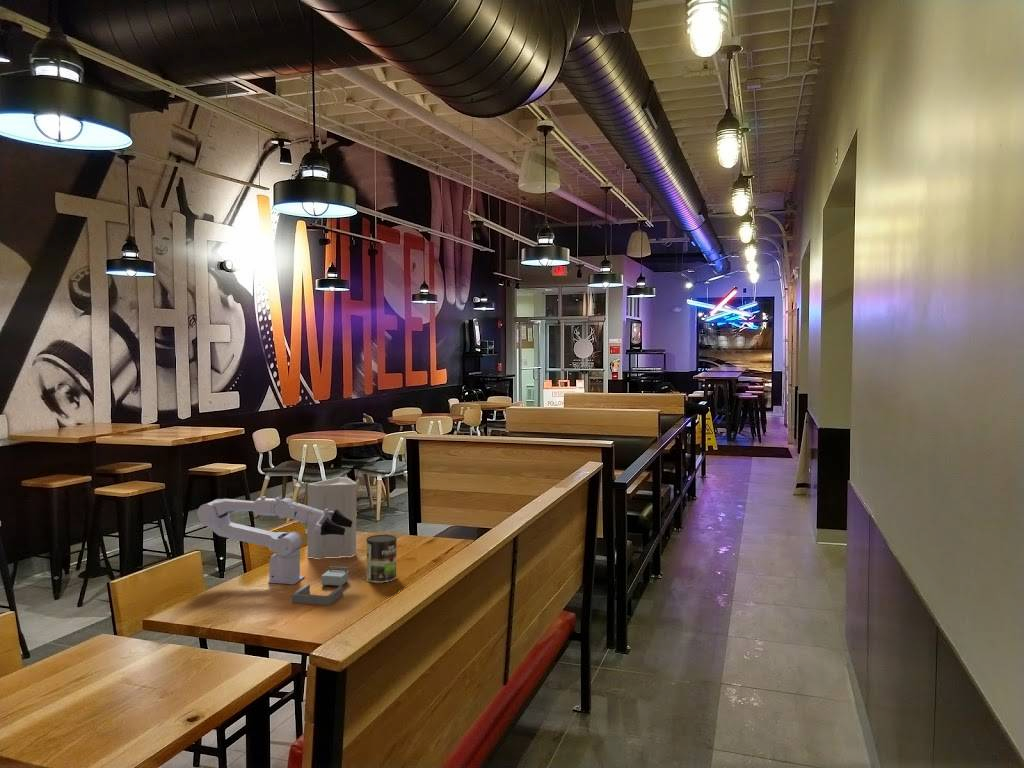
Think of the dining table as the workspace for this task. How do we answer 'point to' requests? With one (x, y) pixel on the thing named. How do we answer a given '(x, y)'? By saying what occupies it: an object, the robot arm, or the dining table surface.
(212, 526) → the robot arm
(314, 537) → the tall upright grey box
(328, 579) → the box with handle
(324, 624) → the dining table surface
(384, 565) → the coffee can
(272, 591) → the dining table surface
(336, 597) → the bay
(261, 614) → the dining table surface
